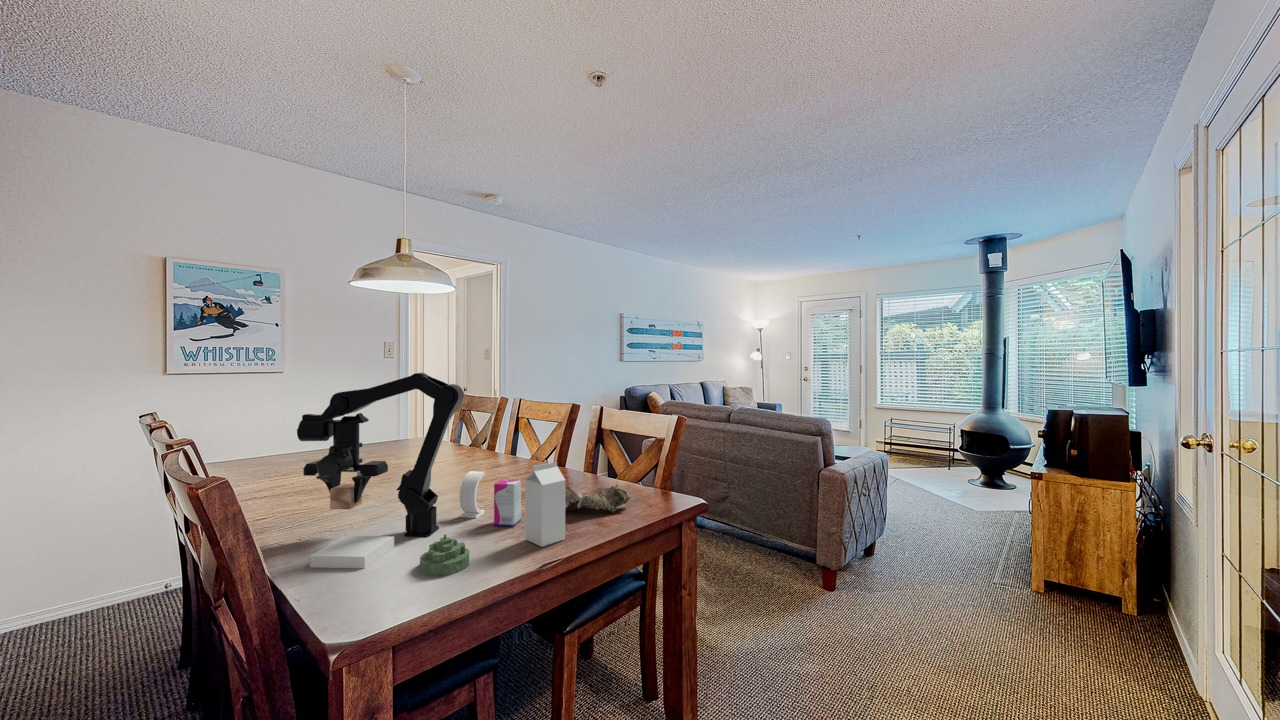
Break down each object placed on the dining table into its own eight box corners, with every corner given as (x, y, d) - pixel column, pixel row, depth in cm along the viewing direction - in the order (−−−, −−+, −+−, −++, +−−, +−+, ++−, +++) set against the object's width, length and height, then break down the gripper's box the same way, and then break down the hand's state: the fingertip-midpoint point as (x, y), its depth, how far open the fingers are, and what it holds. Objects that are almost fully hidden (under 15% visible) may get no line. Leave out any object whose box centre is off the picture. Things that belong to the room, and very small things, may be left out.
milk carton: (565, 539, 123) (565, 463, 123) (541, 547, 118) (542, 468, 118) (548, 532, 128) (548, 459, 128) (524, 540, 123) (525, 463, 123)
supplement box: (521, 520, 138) (521, 479, 138) (514, 527, 132) (514, 484, 132) (501, 519, 139) (501, 478, 139) (493, 526, 133) (493, 483, 133)
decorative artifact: (454, 554, 115) (411, 568, 107) (454, 523, 115) (411, 535, 107) (478, 565, 108) (434, 581, 101) (478, 533, 108) (434, 547, 101)
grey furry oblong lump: (612, 496, 161) (612, 472, 161) (637, 509, 148) (637, 483, 148) (540, 510, 148) (540, 484, 148) (561, 525, 135) (560, 497, 135)
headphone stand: (485, 512, 144) (485, 471, 144) (474, 519, 139) (474, 476, 138) (470, 511, 145) (470, 471, 145) (459, 518, 139) (459, 475, 139)
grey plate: (394, 546, 118) (394, 536, 118) (364, 568, 106) (364, 556, 106) (344, 546, 119) (344, 535, 119) (310, 567, 107) (310, 555, 107)
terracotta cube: (361, 503, 128) (361, 484, 128) (349, 509, 123) (349, 489, 123) (342, 503, 128) (342, 483, 128) (330, 509, 123) (330, 489, 123)
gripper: (286, 445, 118) (286, 511, 118) (363, 446, 117) (363, 512, 117) (318, 438, 129) (318, 498, 129) (389, 439, 128) (388, 499, 128)
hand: (346, 502), depth 126 cm, fingers closed on terracotta cube, 5 cm apart
